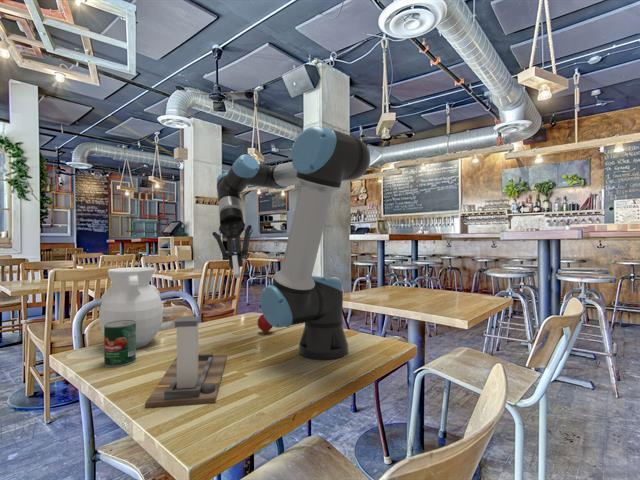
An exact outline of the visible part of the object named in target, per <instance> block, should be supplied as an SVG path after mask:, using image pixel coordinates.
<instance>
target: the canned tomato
mask: <svg viewBox="0 0 640 480" xmlns="http://www.w3.org/2000/svg"><path fill="white" fill-rule="evenodd" d="M103 337H104V340H103V341H104V343H103V345H104V346H103V351H104V352H103V355H104V356H103V360H104V362H103V366H105V367H107V368H116V367H117V368H118V367H123V366H124V367H125V366H128V365H130V364H133V363H135V362H136V361H137V357H136V356H137V348H136V321H134V320H120V321H113V322H109V323H106V324H105V325H104V335H103Z"/></svg>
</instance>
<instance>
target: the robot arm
mask: <svg viewBox="0 0 640 480" xmlns="http://www.w3.org/2000/svg"><path fill="white" fill-rule="evenodd" d="M370 154H371V153H370V150H369V148H368V146H367V144H366V142H364V141H363V140H362V139H361V138H360V137H359V138H358V137H357V136H354V135H349V134H347V133H344V132H341V131H338V130H335V129H331V128H329V127H324V126H318V125H313V126H309V127H307V128H306V129H304V130H303V131H302V132H300V134H299V135H298V136H297V137H296V139H295V141H294V142H293V145H292V149H291V153H290V157H291V158H290V159H291V161H289V162H284V163H281V164H278V165H267V164H266V165H265V164H261V163H259V162H258V160H257V159H256V158H255V157H254V156H253V157H252V156H251V155H250V154H247V153H246V154H242V155H240V156H238V157H237V159H236V160H235V161H234V162H233V164H232V166H231V167H230V169H229V170H228V172H223V173H222V174H219V175H218V176H217V178H216V191H217V192H216V193H217V201H218V202H217V203H218V214H219V227H218V230H217V231H213V232H212V236H213V238H214V239H215V240H216V242H217V245H218V247H219V250H220V251H221V254H222V256H223V258H224V260H228V262H229V263H228V264H229V267H230V268H231V269H232V270H233V276H234V279H240V278H241V277H242V276H241V267H243V265H244V264H243V258H244V257H245V256H248V252H249V249H250V248H249V247H250V240H251V234H253V232H254V229H253V227H252V225H251V224H248V225H246V223H245V222H244V216H243V208H242V199H241V194H242V192H243V191H244V190H245V189H246V188H247V187H248V186H253V187H261V188H262V187H263V188H270V189H276V190H280V189H281V190H284V189H287V187H289V186H294V185H299V189H298V194H297V198H296V203H295V208H294V212H293V215H292V221H291V225H290V229H289V234H288V238H287V242H286V248H285V251H284V255H283V260H282V263H281V264H282V265H281V269H280V270H279V271H277V272H275V273H274V275H273V279H272V284H268V285H266V286H265V287H263V288H262V289H261V292H260V296H259V305H260V309H261V312H262V314H263V315H264V317H265V319H266V320H267V322H268V323H269V324H270V325H272V326H273V327H274V328H277V329H278V328H279V329H280V328H290V327H291V326H295V325H300V324H304V329H303V331H302V334H301V337H300V340H299V343H298V353H299V354H300V355H301V356H303V357H304V358H305V357H306V358H307V359H314V360H333V359H340V358H342V356H343V357H345V356H347V354H349V344H348V340H347V337H346V334H345V330H344V328H343V310H344V309H343V306H344V305H343V304H344V303H343V300H344V299H343V298H344V297H343V294H344V291H343V282H342V281H341V279H340V278H336V277H327V276H317V275H315V276H314V275H313V272H314V269H315V264H316V259H317V256H318V253H319V249H320V245H321V241H322V236H323V232H324V228H325V224H326V220H327V218H328V217H327V216H328V213H329V209H330V205H331V201H332V196H333V193H335V192H337V191H338V190H340V189H341V185H342V182H343V181H345V182H346V181H353V180H357V179H359V178H360V177H362V176H363V175H364V174H365V173H366V172H367V170H368V169H369V166H370V163H371V155H370ZM243 232H244V237H243V243H242V244H241V235H242V234H243ZM222 235H223V236H224V237H225V238H226V244H227V246H226V247H227V250H226V248H225V246H224V243H223V240H222V239H221V238H222ZM233 239H234V241H233ZM233 242H235V251H236V252H235V253H236V254H235V253H234V243H233ZM234 254H235V255H234ZM344 355H345V356H344ZM339 357H340V358H339Z"/></svg>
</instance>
